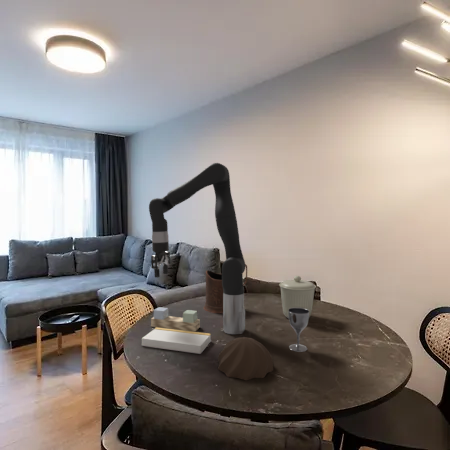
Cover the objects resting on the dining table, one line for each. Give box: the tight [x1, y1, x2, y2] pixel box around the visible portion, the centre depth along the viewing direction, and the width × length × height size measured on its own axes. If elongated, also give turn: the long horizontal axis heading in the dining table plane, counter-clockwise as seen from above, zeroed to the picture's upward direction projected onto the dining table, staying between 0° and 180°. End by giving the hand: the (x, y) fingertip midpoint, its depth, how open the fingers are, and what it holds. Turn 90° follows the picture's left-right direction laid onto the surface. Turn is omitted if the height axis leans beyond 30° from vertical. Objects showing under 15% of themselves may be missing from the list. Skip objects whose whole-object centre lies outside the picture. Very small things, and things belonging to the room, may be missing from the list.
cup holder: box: [203, 263, 248, 314], centre depth 179 cm, size 18×24×25 cm
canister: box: [278, 275, 317, 319], centre depth 165 cm, size 18×18×21 cm
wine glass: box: [288, 307, 310, 353], centre depth 129 cm, size 8×8×15 cm
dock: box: [141, 327, 212, 355], centre depth 133 cm, size 25×12×3 cm, turn 74°
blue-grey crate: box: [153, 306, 169, 320], centre depth 153 cm, size 5×5×4 cm
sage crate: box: [182, 309, 198, 323], centre depth 149 cm, size 5×5×4 cm
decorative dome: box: [217, 336, 274, 381], centre depth 114 cm, size 19×20×10 cm
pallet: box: [150, 315, 201, 332], centre depth 151 cm, size 22×6×4 cm, turn 74°
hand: (161, 275), depth 154 cm, fingers open, 8 cm apart
